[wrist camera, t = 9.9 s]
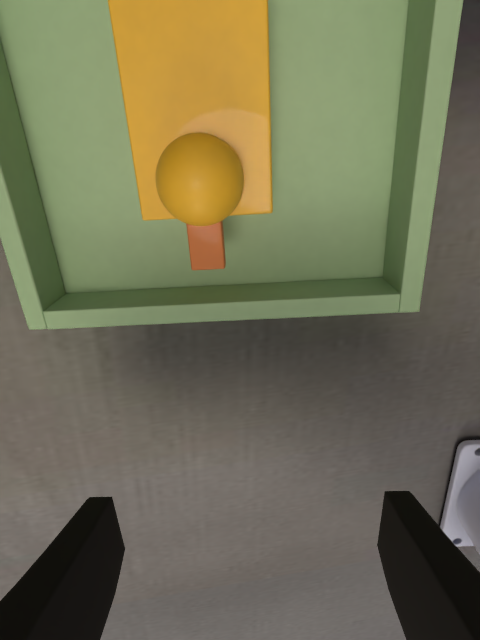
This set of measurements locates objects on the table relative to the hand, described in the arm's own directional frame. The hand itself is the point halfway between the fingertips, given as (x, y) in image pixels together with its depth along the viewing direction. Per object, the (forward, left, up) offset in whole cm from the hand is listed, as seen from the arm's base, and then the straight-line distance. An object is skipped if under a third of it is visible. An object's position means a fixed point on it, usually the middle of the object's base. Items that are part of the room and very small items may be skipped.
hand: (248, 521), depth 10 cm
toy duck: (+1, -10, -9) cm, 14 cm away
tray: (+1, -10, -9) cm, 14 cm away
